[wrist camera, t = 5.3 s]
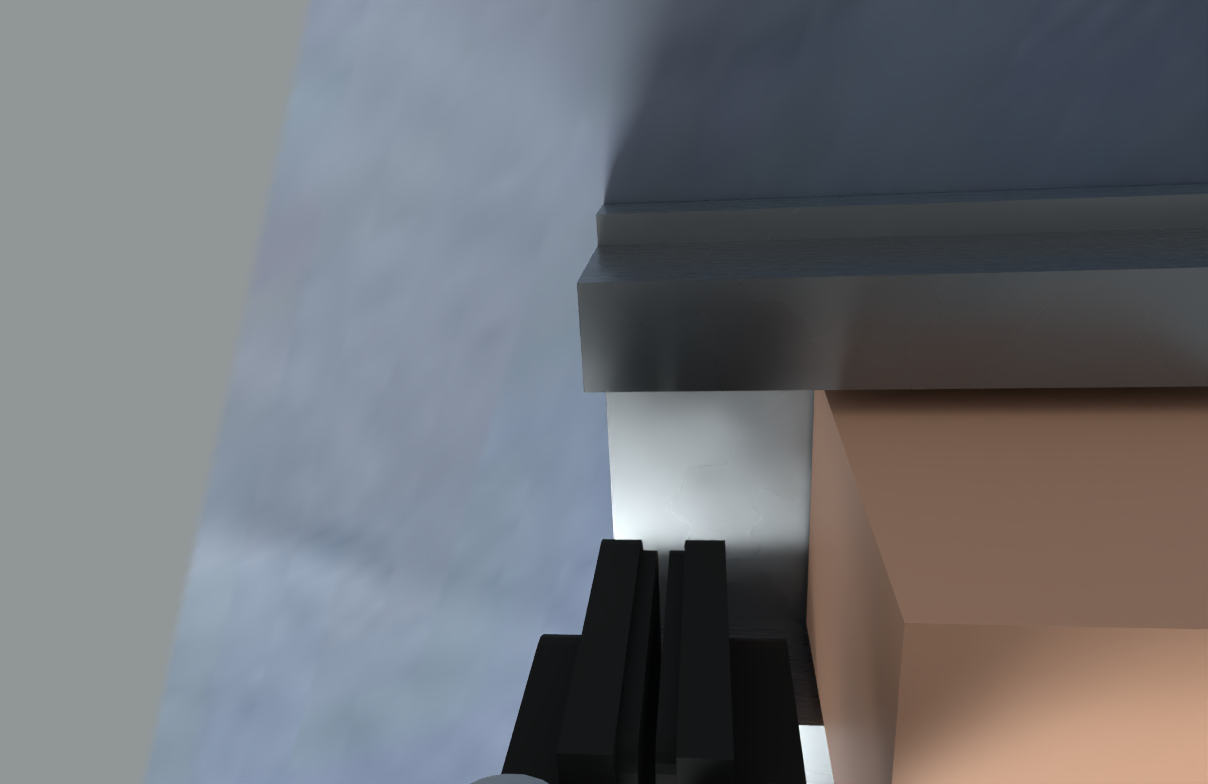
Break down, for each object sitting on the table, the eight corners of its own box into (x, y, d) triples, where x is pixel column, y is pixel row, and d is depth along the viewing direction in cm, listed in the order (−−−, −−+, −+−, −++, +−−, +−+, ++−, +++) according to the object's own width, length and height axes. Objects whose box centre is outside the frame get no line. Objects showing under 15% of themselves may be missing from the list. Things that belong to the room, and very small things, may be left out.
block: (1211, 359, 14) (1667, 639, 7) (1156, 630, 15) (1482, 1051, 9) (815, 364, 14) (904, 622, 8) (806, 623, 16) (873, 1008, 10)
